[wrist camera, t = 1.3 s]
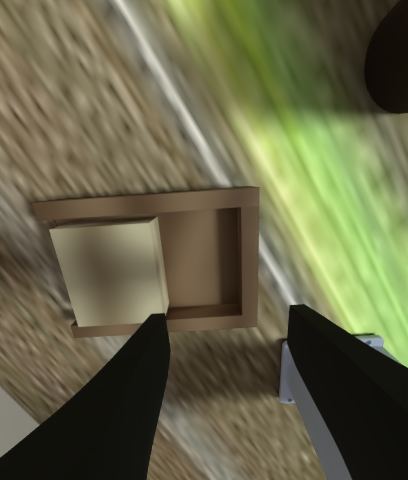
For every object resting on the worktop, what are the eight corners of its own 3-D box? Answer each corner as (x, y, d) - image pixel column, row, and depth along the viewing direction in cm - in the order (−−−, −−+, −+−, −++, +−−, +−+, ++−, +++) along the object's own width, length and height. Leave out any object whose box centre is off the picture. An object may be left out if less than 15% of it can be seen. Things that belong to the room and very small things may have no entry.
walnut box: (251, 186, 15) (259, 187, 13) (250, 309, 18) (257, 326, 16) (55, 199, 15) (31, 202, 13) (89, 319, 18) (74, 338, 16)
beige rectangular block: (157, 216, 15) (149, 223, 13) (169, 302, 17) (164, 321, 15) (72, 221, 15) (48, 229, 13) (95, 307, 17) (78, 326, 15)
